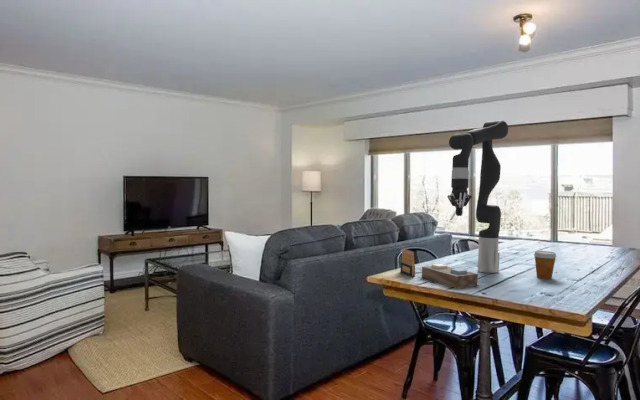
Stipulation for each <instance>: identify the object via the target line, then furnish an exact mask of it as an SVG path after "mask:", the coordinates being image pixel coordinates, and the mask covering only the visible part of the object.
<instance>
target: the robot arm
mask: <svg viewBox="0 0 640 400" xmlns="http://www.w3.org/2000/svg"><path fill="white" fill-rule="evenodd" d="M508 133H509V125H508V123H507V122H506V121H505V120H502V119H501V120H500V119H499V120H491V121H490V120H489V121H485V122H484V124H483V125H482V127H480V128H475V129H474V128H473V129H471V130H468V131H465V132H458V133H455V134H452V135H451V136H450V137H449V141H448V145H449V147H450V148H451V149H452V150H457V151H458V150H460V152H459V153H458V154H455V155H453V156H452V168H451V169H452V170H451V184H450V185H451V186H450V187H451V188H452V190H451V193H450V194H448V195H447V199H448V200H449V201H448V202H450V205H452V206H453V207H455V216H460V217H461V216H463V212H464V211H463V209H464V207H467V205H468V204H469V202H470V201H471V199H472V195H470V194H469V192H468V188H469V182H470V171H469V169H470V168H469V166H470V165H469V161H470V156H471V154H472V149H473V146H475V145H478V144H482V145H481V148H482V151H481V152H482V154H481V163H480V175H479V177H480V178H479V188H478V189H479V191H478V197H477V203H476V209H475V218H476V221H477V223H481V224H488V227H487V228H485V229H481V230H479V232H478V249H477V251H478V252H477V254H478V257H477V271H478V272H481V273H486V274H496V273H498V272H500V252H499V238H500V237H499V235H500V231H501V219H502V211H501V210H502V209H501V207H500V206H498V205H494V204H488V200H489V197H490V195H491V193H492V191H494V189H495V188H496V186H497V185H498V183H499V181H500V178H501V169H502V168H501V163H500V161H499V159H498V157H497V156H496V154H495V152H494V149H493V148H494V147H493V140H501V139H504V138H506V137H507V136H508Z"/></svg>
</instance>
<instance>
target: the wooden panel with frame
mask: <svg viewBox="0 0 640 400" xmlns="http://www.w3.org/2000/svg"><path fill="white" fill-rule="evenodd" d="M401 252H402V253H401V261H400V270H399V271H400V273H401V274H402V275H403V274H404V275H405V276H408V277H410V278H415V277H416V266H415V253H414V250H413V251H412V250H409V249H406V248H404V247H403V248H402V250H401Z"/></svg>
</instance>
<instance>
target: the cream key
mask: <svg viewBox="0 0 640 400" xmlns="http://www.w3.org/2000/svg"><path fill="white" fill-rule="evenodd" d="M431 266H432V268H436V269H447V266H448V265H447V264H442V263H433V264H431Z"/></svg>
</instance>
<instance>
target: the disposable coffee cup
mask: <svg viewBox="0 0 640 400" xmlns="http://www.w3.org/2000/svg"><path fill="white" fill-rule="evenodd" d="M533 255H534V259H535V262H534V263H535V271H536V278H538V279H543V280H551V278H553V273H554V268H555V263H556V258H557V254H556V252H553V251H548V250H546V251H545V250H536V251H535V250H534V253H533Z"/></svg>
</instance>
